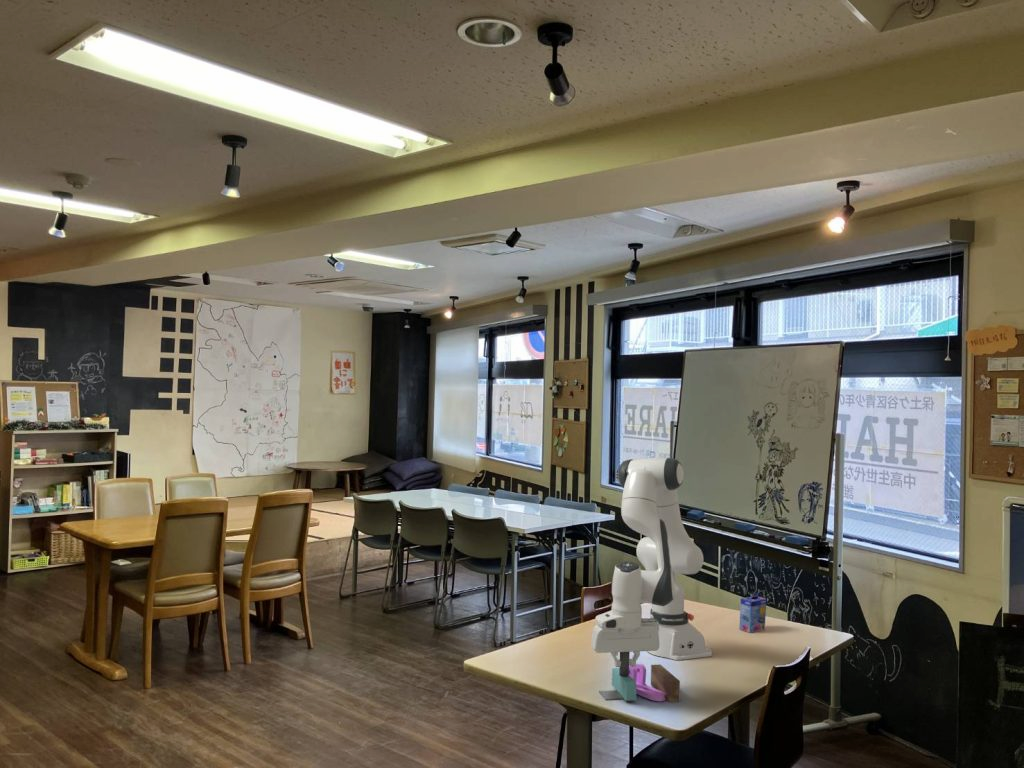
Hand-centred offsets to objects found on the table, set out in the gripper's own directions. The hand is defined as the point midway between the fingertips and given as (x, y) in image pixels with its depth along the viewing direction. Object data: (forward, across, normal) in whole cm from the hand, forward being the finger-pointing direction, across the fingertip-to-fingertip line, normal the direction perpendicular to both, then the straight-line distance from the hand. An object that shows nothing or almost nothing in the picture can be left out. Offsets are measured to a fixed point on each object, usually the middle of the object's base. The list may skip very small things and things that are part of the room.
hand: (625, 666), depth 219 cm
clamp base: (+8, -3, 0) cm, 9 cm away
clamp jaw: (+8, 0, 0) cm, 8 cm away
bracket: (+8, -7, 0) cm, 11 cm away
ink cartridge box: (+8, -74, -57) cm, 94 cm away
